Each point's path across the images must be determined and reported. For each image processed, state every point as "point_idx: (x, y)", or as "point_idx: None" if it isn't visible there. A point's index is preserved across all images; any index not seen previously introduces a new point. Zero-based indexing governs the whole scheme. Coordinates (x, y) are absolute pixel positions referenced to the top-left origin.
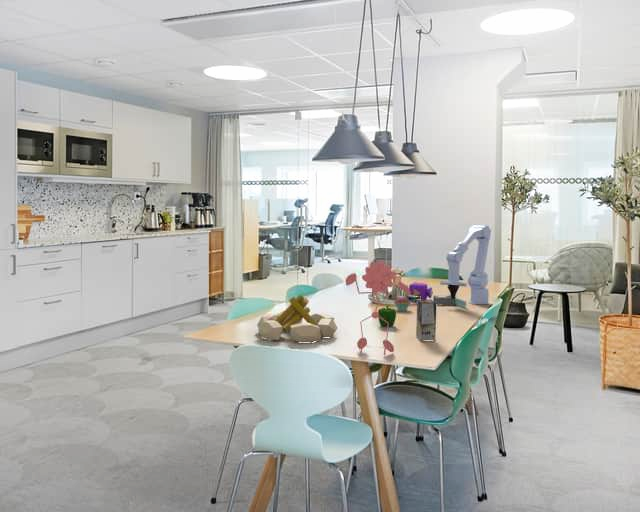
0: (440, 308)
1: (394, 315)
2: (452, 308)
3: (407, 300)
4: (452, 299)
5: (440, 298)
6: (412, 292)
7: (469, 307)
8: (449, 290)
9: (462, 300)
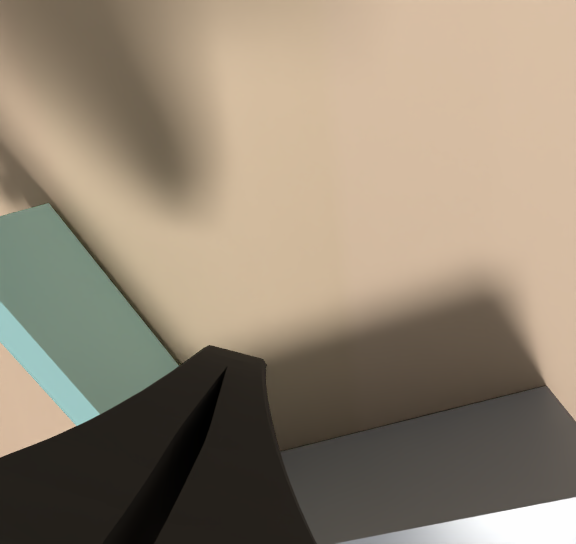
0: (482, 40)
1: None
2: (246, 142)
3: None
4: None
5: (531, 491)
6: None
7: None
8: (302, 540)
9: (16, 320)
